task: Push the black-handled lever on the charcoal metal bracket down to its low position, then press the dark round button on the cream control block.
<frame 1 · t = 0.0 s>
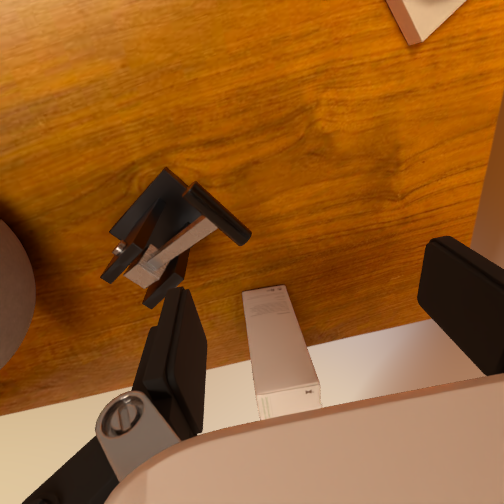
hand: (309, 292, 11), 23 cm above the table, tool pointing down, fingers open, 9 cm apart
cosmetic box: (267, 308, 42), on the table
bracket: (166, 221, 33), on the table
lever: (175, 246, 22), point 12 cm above the table, hinge at 25.0°
planter: (13, 240, 33), on the table
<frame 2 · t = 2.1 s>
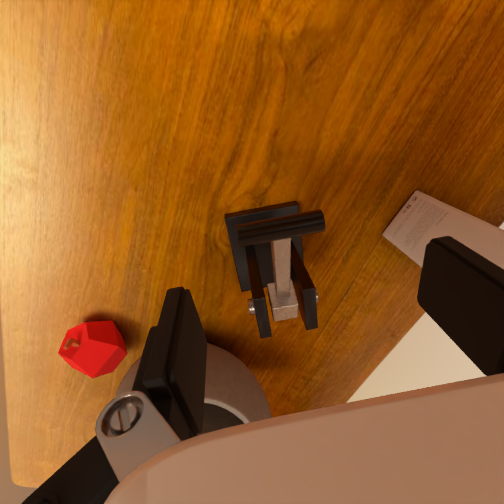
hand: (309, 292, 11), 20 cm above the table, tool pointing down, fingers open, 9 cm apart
apple: (104, 330, 37), on the table
cosmetic box: (421, 223, 34), on the table
bracket: (266, 246, 33), on the table
lever: (281, 274, 21), point 12 cm above the table, hinge at 25.0°
planter: (204, 344, 40), on the table
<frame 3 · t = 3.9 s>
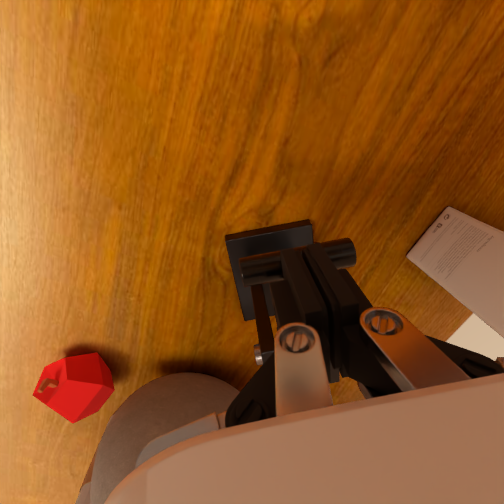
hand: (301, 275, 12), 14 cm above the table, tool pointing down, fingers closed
apple: (88, 362, 33), on the table
cosmetic box: (451, 243, 30), on the table
bracket: (273, 270, 29), on the table
coffee cup: (135, 417, 39), on the table
lever: (296, 317, 17), point 12 cm above the table, hinge at 19.2°, touching gripper
planter: (202, 375, 36), on the table
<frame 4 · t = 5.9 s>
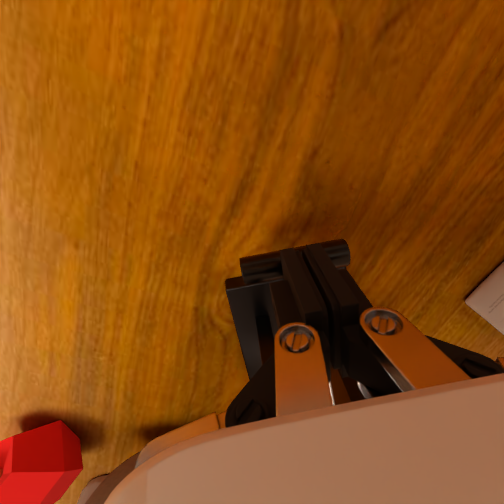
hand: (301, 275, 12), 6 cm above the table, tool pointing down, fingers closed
apple: (51, 430, 26), on the table
bracket: (289, 321, 22), on the table
coffee cup: (115, 484, 32), on the table
lever: (315, 374, 13), point 8 cm above the table, hinge at -31.6°, touching gripper
planter: (196, 439, 29), on the table
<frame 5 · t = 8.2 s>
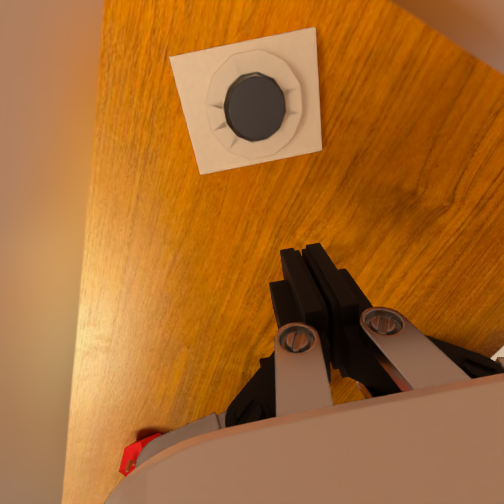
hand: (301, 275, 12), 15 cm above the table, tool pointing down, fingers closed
apple: (152, 438, 43), on the table
control block: (250, 107, 23), on the table
button: (255, 109, 19), point 4 cm above the table, slide at 0.1 cm
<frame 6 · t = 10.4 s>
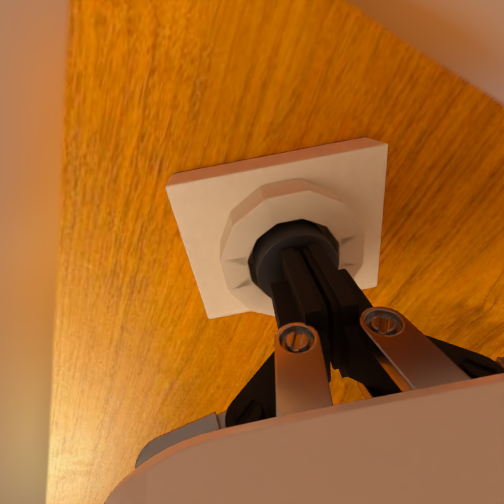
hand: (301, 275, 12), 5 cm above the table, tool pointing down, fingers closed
control block: (278, 226, 16), on the table
button: (293, 261, 13), point 4 cm above the table, slide at -0.5 cm, touching gripper
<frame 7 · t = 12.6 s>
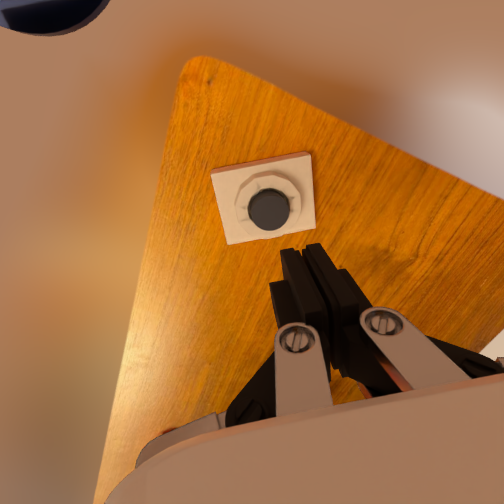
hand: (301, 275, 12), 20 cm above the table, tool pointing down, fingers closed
control block: (264, 196, 31), on the table
button: (269, 210, 27), point 4 cm above the table, slide at 0.1 cm
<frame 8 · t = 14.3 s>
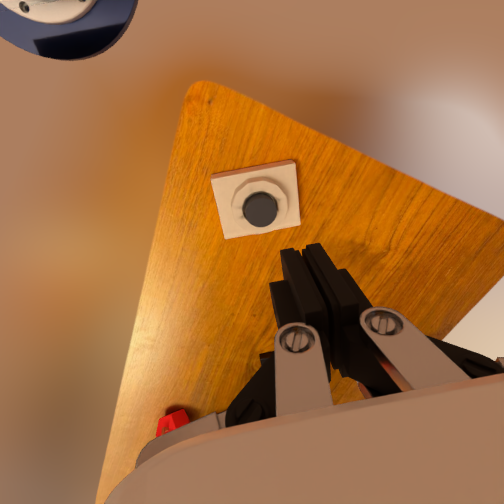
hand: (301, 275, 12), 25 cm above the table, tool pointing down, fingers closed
apple: (177, 413, 57), on the table
control block: (256, 197, 36), on the table
button: (260, 210, 33), point 4 cm above the table, slide at 0.1 cm
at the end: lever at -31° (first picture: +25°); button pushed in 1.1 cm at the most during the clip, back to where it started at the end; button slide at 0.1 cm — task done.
